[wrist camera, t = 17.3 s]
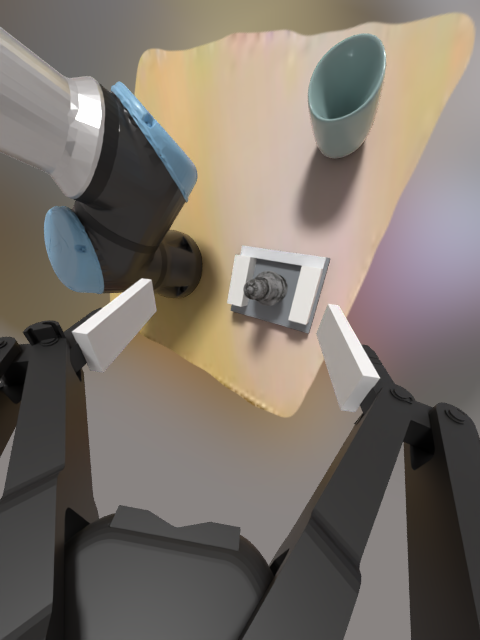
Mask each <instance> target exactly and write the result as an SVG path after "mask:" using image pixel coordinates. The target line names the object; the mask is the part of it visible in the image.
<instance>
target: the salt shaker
mask: <svg viewBox="0 0 480 640" xmlns="http://www.w3.org/2000/svg"><path fill="white" fill-rule="evenodd" d="M243 291H244V294H245V296H246V297H247V298H249V299H252V300H256V301H257V302H258V303H259V304H262V305H265V306H271V305H274V304H276V303H278V302H279V301H281V300H282V299H283V298H284V297H285V296H286V294H287V291H288V285H287V282H286V280H285V279H284V277H282V276H281V275H279V274H277V273H276V272H273V271H264V272H261V273H260V274H258V275H257V276H256V277H255V279H251V280H249V281H247V282H246V283H245V285H244V288H243Z"/></svg>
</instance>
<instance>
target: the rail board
mask: <svg viewBox="0 0 480 640" xmlns="http://www.w3.org/2000/svg"><path fill="white" fill-rule="evenodd" d="M329 262H330V258H326V257H319V256H312V255H305V254H298V253H291V252H284V251H278V250H271V249H264V248H257V247H250V246H243V245H242V249H241V254H240V255H236V254H235V260H234V266H233V272H232V277H231V283H230V289H229V295H228V301H227V303H229V304H232V306H231V311H233V312H237V313H240V314H244V315H247V316H251V317H254V318H257V319H261V320H264V321H268V322H271V323H275V324H278V325H281V326H285V327H288V328H292V329H295V330H298V331H302V332H305V333H309V332H310V329H311V325H312V322H313V318H314V315H315V311H316V308H317V304H318V301H319V297H320V294H321V290H322V287H323V283H324V280H325V276H326V273H327V269H328V266H329ZM264 271H273V272H276V273H277V274H279V275H281V276H282V277H284V279H285V280H286V282H287V285H288V291H287V294H286V296H285V297H284V298H283V299H282V300H281V301H279V302H278V303H276V304H274V305H271V306H265V305H262V304H259V303H258V302H257V301H256V300H252V299H249V298H247V297H246V296H245V294H244V291H243V288H244V285H245V283H246V282H247V281H249V280H251V279H255V277H256V276H257V275H258V274H260V273H261V272H264Z"/></svg>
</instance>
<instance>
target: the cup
mask: <svg viewBox="0 0 480 640" xmlns="http://www.w3.org/2000/svg"><path fill="white" fill-rule="evenodd" d="M385 70H386V53H385V48H384V45H383V44H382V42H381V40H380V39H379V38H377V37H376V36H375V35H372V34H358V35H354V36H351V37H349V38H346V39H344V40H343V41H341V42H339V43H338V44H336V45H335V46H334V47H332V48H331V49H330V50H329V51H328V52H327V53H326V54H325V55H324V56H323V57H322V59H321V60H320V61H319V63H318V65H317V66H316V68H315V70H314V72H313V75H312V77H311V80H310V84H309V90H308V108H309V115H310V120H311V125H312V130H313V134H314V138H315V141H316V144H317V146H318V148H319V150H320V152H321V153H322V154H323V155H325V156H326V157H328V158H342V157H345V156H347V155H349V154H351V153H353V152H354V151H356V150H357V149H358V148H359V147H360V146H361V145H362V144H363V142H364V141H365V140H366V138H367V136H368V134H369V132H370V130H371V128H372V125H373V123H374V119H375V116H376V113H377V109H378V106H379V101H380V97H381V92H382V87H383V83H384V77H385Z"/></svg>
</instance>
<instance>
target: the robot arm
mask: <svg viewBox="0 0 480 640" xmlns="http://www.w3.org/2000/svg"><path fill="white" fill-rule="evenodd" d="M111 92H112V93H110V92H109V91H108V90H107V89H105V88H104V87H103V86H102V85H101V84H100V83H98V82H97V81H96V80H95V79H94V78H92V77H90V76H84V77H76V78H67V77H65V76H63V75H61V74H60V73H59V72H57V71H56V70H55V69H54V68H52V67H51V66H50V65H48V64H47V63H46V62H45V61H43V60H42V59H41V58H39V57H38V56H37V55H36V54H34V53H33V52H32V51H31V50H29V49H28V48H27V47H25V46H24V45H23V44H22V43H20V42H19V41H18V40H16V39H15V38H14V37H13V36H11V35H10V34H9V33H8V32H6V31H5V30H4V29H2V28H1V27H0V152H1V153H4V154H6V155H8V156H11V157H13V158H15V159H17V160H19V161H22V162H24V163H26V164H28V165H31V166H33V167H35V168H38V169H39V170H42V171H44V172H46V173H48V174H49V175H50V176H51V177H52V178H53V179H54V181H55V182H56V184H57V185H58V186H59V188H60V189H61V191H62V192H63V193H64V195H66V196H67V197H69V198H71V199H74V200H76V201H75V204H74V207H73V209H70V208H68V207H66V206H61V207H59V206H55V207H53V208H52V209H50V210H49V211H48V212H47V214H46V217H45V223H44V236H45V244H46V249H47V253H48V257H49V260H50V262H51V265H52V267H53V269H54V271H55V273H56V275H57V276H58V278H59V279H60V281H61V282H62V283H63V284H64V285H65V286H66V287H68V288H69V289H71V290H73V291H76V292H87V293H97V294H102V293H119V292H123V293H122V294H121V295H119V296H118V297H117V298H115V299H114V300H113V301H111V302H110V303H109V304H108V305H106V306H105V307H104V308H99V309H96V310H94V311H92V312H91V313H89V314H88V315H87V316H86V317H84V318H83V319H81V320H80V321H78V322H77V323H76V324H74V325H73V326H72V327H70V328H69V329H67V330H66V331H65V332H63V331H62V329H61V327H60V325H59V323H58V322H56V321H42V322H38V323H35V324H33V325H31V326H29V327H28V328H26V329H25V330H24V332H23V333H24V335H25V336H26V338H27V340H28V341H29V343H30V344H21V345H19V344H18V343H17V341H16V340H15V338H12V337H2V338H0V381H1V383H0V456H1V455H2V452H3V451H4V449H5V447H6V445H7V443H8V441H9V439H10V437H11V435H12V433H13V431H14V429H15V427H16V430H15V436H14V441H13V446H12V451H11V456H10V462H9V467H8V472H7V478H6V482H5V488H4V493H3V496H2V498H1V499H0V640H343V638H344V636H345V632H346V630H347V626H348V624H349V621H350V617H351V614H352V611H353V608H354V605H355V602H356V599H357V596H358V593H359V589H360V585H361V573H360V570H359V565H360V561H361V558H362V555H363V552H364V549H365V546H366V544H367V541H368V538H369V535H370V532H371V530H372V527H373V524H374V521H375V518H376V516H377V513H378V510H379V507H380V504H381V501H382V499H383V496H384V493H385V490H386V487H387V484H388V482H389V479H390V476H391V473H392V471H393V468H394V465H395V462H396V459H397V457H398V454H399V451H400V448H401V445H402V443H403V442H404V462H405V488H406V514H407V538H408V539H407V541H408V568H409V595H410V620H411V640H480V438H479V435H478V432H477V430H476V427H475V425H474V423H473V421H472V420H471V418H470V417H468V415H467V414H465V413H464V412H463V411H461V410H460V409H458V408H457V407H455V406H453V405H450V404H447V403H438V404H437V405H436V406H434V407H433V408H432V407H430V406H428V405H425V404H422V403H420V402H417V401H415V399H414V397H413V396H412V395H411V394H410V393H409V392H408V391H407V390H406V389H404V388H403V387H401V386H398V385H396V384H394V382H393V380H392V379H391V377H390V376H389V374H388V372H387V371H386V369H385V368H384V366H383V365H382V363H381V361H380V360H379V358H378V356H377V355H376V353H375V352H374V351H373V350H372V349H371V348H370V347H369V346H367V345H361V344H360V342H359V340H358V338H357V337H356V335H355V333H354V331H353V330H352V328H351V326H350V324H349V323H348V321H347V319H346V317H345V316H344V314H343V312H342V310H341V309H340V307H339V305H333V304H328V305H327V308H326V310H325V313H324V315H323V318H322V320H321V323H320V325H319V328H318V331H317V333H316V334H317V337H318V341H319V344H320V347H321V350H322V353H323V356H324V359H325V363H326V366H327V369H328V372H329V375H330V378H331V381H332V385H333V388H334V391H335V394H336V397H337V400H338V404H339V407H340V410H344V411H351V412H355V411H356V410H357V409H358V407H359V406H361V409H362V411H363V413H362V415H361V416H360V417H359V418H358V420H357V421H356V422H355V426H354V427H353V429H352V431H351V432H350V434H349V436H348V437H347V439H346V441H345V442H344V444H343V446H342V447H341V449H340V451H339V452H338V454H337V456H336V457H335V459H334V461H333V462H332V464H331V466H330V467H329V469H328V471H327V472H326V474H325V476H324V477H323V479H322V481H321V482H320V484H319V486H318V487H317V489H316V491H315V492H314V494H313V496H312V497H311V499H310V501H309V502H308V504H307V505H306V507H305V509H304V511H303V512H302V514H301V515H300V517H299V519H298V521H297V522H296V524H295V525H294V527H293V529H292V530H291V532H290V533H289V535H288V537H287V538H286V539H285V541H284V542H283V544H282V545H281V547H280V548H279V550H278V551H277V553H276V554H275V556H274V558H273V560H272V561H271V563H270V565H269V566H268V564H267V562H266V560H265V559H264V558H263V556H262V555H261V553H260V552H259V551H258V550H257V549H256V547H255V546H254V545H253V544H251V542H250V541H248V540H247V539H246V538H244V537H243V536H241V535H240V527H234V526H230V525H224V524H219V523H213V522H207V523H201V524H196V525H190V526H184V527H178V528H177V527H174V526H172V525H170V524H169V523H167V522H166V521H164V520H162V519H161V518H159V517H158V516H156V515H155V514H153V513H151V512H150V511H148V510H142V509H137V508H132V507H127V506H121V505H120V506H119V507H118V509H117V511H116V513H115V514H111V515H108V516H105V517H102V518H100V519H99V516H98V511H97V507H96V504H95V502H94V498H93V490H92V477H91V464H90V450H89V437H88V424H87V410H86V397H85V384H84V372H83V370H82V367H83V366H84V365H85V364H86V363H87V365H88V367H89V369H90V370H91V371H97V372H104V371H105V370H106V369H107V368H108V367H109V365H110V364H111V363H112V362H113V360H115V358H116V357H117V356H118V355H119V354H120V353H121V351H122V350H123V349H124V348H125V347H126V346H127V345H128V343H129V342H130V341H131V340H132V339H133V338H134V336H135V335H136V334H137V333H138V332H139V331H140V330H141V328H142V327H143V326H144V325H145V324H146V323H147V321H148V320H149V319H150V318H151V317H152V316H153V314H154V313H155V312H156V311H157V310H156V303H155V297H154V293H156V294H159V295H162V296H165V297H168V298H181V297H185V296H187V295H189V294H190V293H191V292H192V291H193V290H194V289H195V288H196V286H197V285H198V283H199V280H200V277H201V273H202V258H201V254H200V251H199V248H198V246H197V244H196V243H195V242H194V240H193V239H192V238H191V237H190V236H188V235H187V234H184V233H182V232H179V231H175V230H169V229H170V227H171V225H172V224H173V222H174V220H175V219H176V217H177V215H178V214H179V212H180V210H181V209H182V207H183V205H184V203H185V202H186V203H187V202H188V197H189V195H190V193H191V191H192V189H193V187H194V185H195V184H196V181H197V170H196V167H195V165H194V163H193V162H192V161H191V160H190V158H189V157H188V156H187V155H186V154H185V153H184V151H183V150H182V149H181V148H180V147H179V146H178V145H177V143H176V142H175V141H174V140H173V139H172V138H171V137H170V135H169V134H168V133H167V132H166V131H165V130H164V129H163V128H162V126H161V125H160V124H159V123H158V122H157V121H156V120H155V119H154V118H153V116H152V115H151V114H150V113H149V112H148V111H147V110H146V109H145V107H144V106H143V105H142V104H141V103H140V102H139V100H138V99H137V98H136V97H135V96H134V95H133V94H132V93H131V92H130V90H128V88H127V87H126V86H125V85H124V84H123V83H121V82H117V83H116V84H115V85H114V86H112V87H111Z"/></svg>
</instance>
